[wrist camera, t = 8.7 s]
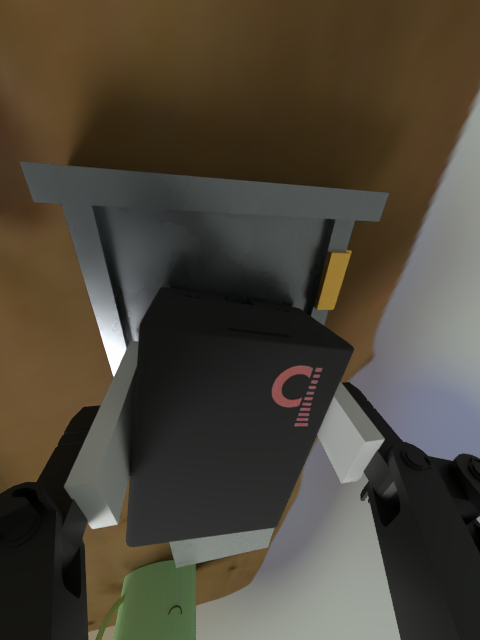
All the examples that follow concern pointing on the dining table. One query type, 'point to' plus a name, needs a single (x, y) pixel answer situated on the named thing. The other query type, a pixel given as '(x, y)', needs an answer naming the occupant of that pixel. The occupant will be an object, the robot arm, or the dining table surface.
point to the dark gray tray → (201, 256)
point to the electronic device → (224, 413)
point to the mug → (156, 604)
